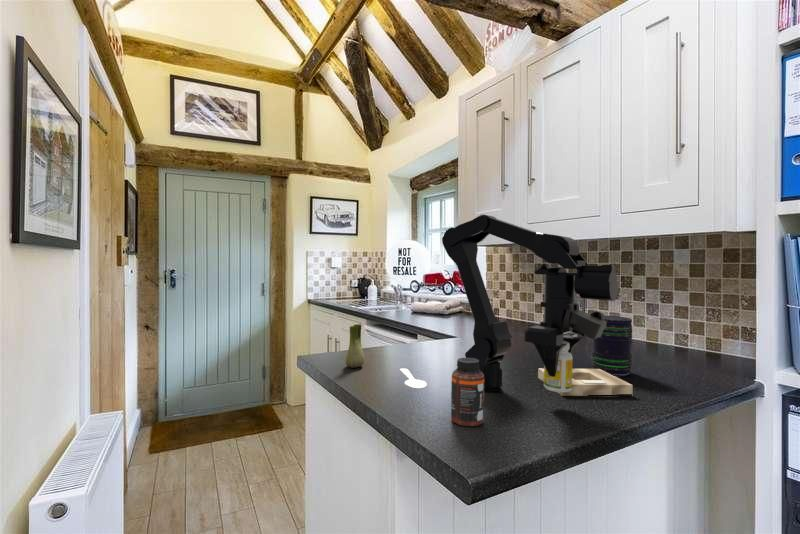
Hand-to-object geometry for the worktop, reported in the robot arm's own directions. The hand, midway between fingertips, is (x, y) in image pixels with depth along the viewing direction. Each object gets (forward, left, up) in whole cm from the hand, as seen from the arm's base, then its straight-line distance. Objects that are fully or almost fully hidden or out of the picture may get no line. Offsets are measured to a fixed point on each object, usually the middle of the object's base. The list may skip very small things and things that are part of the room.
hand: (557, 373), depth 80 cm
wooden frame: (+12, +14, -7) cm, 20 cm away
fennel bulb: (-44, +30, -7) cm, 54 cm away
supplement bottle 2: (0, 0, -3) cm, 3 cm away
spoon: (-29, +20, -7) cm, 36 cm away
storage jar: (+27, +28, -7) cm, 40 cm away
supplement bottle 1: (-20, -8, -7) cm, 23 cm away
